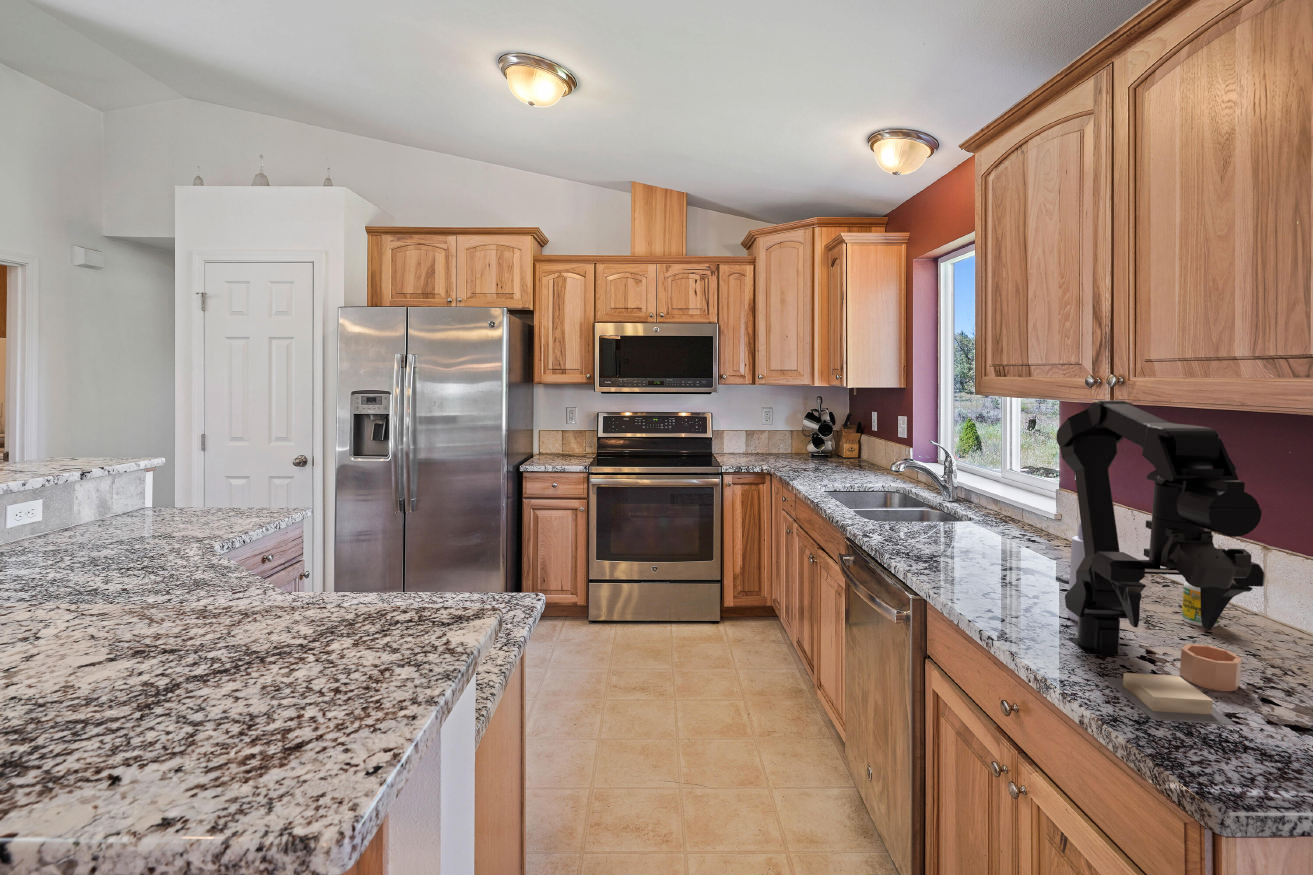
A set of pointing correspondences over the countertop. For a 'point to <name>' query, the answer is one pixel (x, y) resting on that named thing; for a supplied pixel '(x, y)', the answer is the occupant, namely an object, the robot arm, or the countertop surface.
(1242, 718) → the countertop surface
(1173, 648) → the countertop surface
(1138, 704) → the mat
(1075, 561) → the spray bottle
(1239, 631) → the countertop surface
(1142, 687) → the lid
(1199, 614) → the supplement bottle
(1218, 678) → the bowl
